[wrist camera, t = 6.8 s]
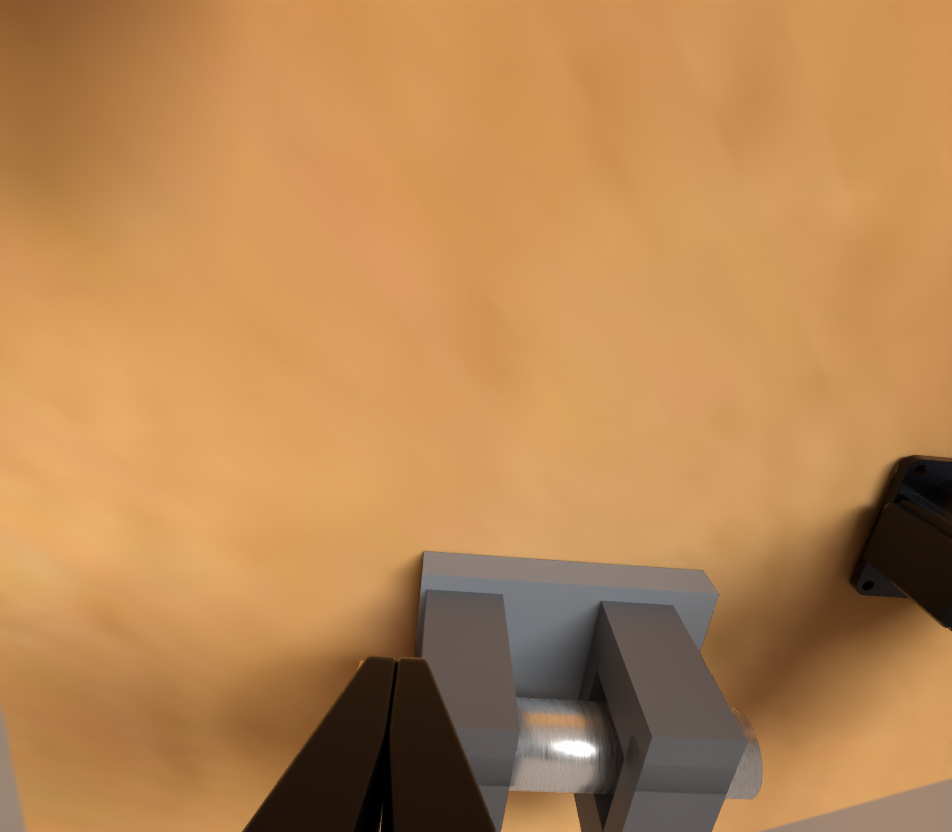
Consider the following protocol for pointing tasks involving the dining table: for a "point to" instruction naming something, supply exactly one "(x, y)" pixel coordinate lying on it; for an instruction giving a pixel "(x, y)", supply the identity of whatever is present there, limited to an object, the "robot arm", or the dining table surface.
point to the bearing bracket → (585, 677)
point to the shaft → (593, 750)
